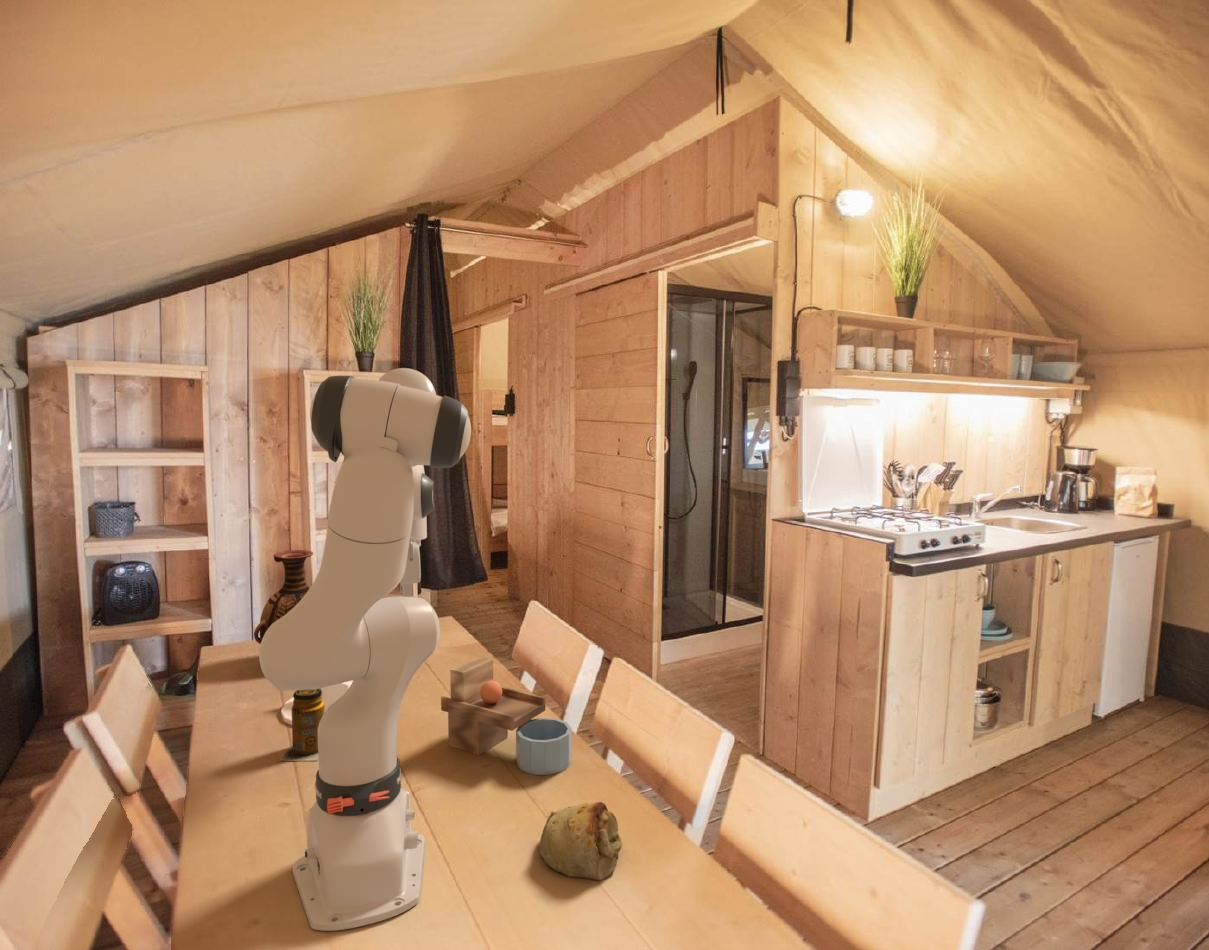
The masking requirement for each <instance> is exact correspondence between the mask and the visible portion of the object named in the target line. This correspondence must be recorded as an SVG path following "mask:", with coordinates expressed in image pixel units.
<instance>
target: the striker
mask: <svg viewBox="0 0 1209 950" xmlns="http://www.w3.org/2000/svg"><path fill="white" fill-rule="evenodd" d="M449 677H450V679H449V680H450V698H451V699H455V700H458V701H462V702H466V703H469V704H471V703H473V702H475V701H477V700H479V699H481V695H480V690H481V687H482V686H483V684H484V683H486V682H488V681H494V659H493V658H488V657H484V656H479V657H476V658H473V659H471V660H469V661H466V662H464V663H462V664H460V665H457V666H455V667H453V668H451V669H450V676H449Z"/></svg>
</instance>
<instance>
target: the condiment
mask: <svg viewBox="0 0 1209 950" xmlns="http://www.w3.org/2000/svg"><path fill="white" fill-rule="evenodd" d="M292 697H294V701H293V706H292V725H291V733H292V734H291V735H292V740H291V742H292V746H291V747H290V748H289V749H288V750H287V751H286V752H285V753H284V754H283V756H281V757H280V759H279V761H283V762H284V761H285V762H307V761H308V762H311V761H313V762H314V761H315V762H316V761H318V726H319V723H320V720H321V718H322V716H323V715H324V702H323V701H322V691H321V689H320V688H319V689H314V690H295V691H294V693H293V695H292Z"/></svg>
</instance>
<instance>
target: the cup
mask: <svg viewBox="0 0 1209 950" xmlns="http://www.w3.org/2000/svg"><path fill="white" fill-rule="evenodd" d="M572 745H573V744H572V726H570V724H569V722H567V721H564V720H561V719H559V718H555V717H554V718H553V717H552V718H551V717H539V718H532V719H531V720H529V721H527V722H526V723H524V724H523V725H521V726H519V727H518V728H516V730H515V760H516V762H517V763H516V764H517V767H518V768H519V769H520V770H521V771H522V772H524V773H525V774H529V775H532V776H533V775H534V776H549V775H550V776H551V775H555V774H558V773H561V772H564V771H565V770H567V769H568V768H569V766H570V765H571V758H572V756H573V755H572V754H573V753H572V752H573V751H572Z"/></svg>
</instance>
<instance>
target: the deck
mask: <svg viewBox="0 0 1209 950" xmlns="http://www.w3.org/2000/svg"><path fill="white" fill-rule="evenodd" d="M501 687H502V696H501V698H500V699H499V700H498V701H497V702H495V703H492V704H490V703H486V702H485V701H483V699H482V698H481V699H479V700H477V701H475V702H473V703H471V704H469V703H466V702H462V701H458V700H455V699H451V697H446V696H441V697H440V707H441V708H440V710H441V711H442V712H446V713H447V723H448V726H447V727H448V729H447V730H448V734H447V735H448V747H451V748H454V749H458V750H461V751H463V752H467V753H470V754H474V755H477V756H480V755H482V754H484V753H485V752H487V751H488V750H490V749H492V748H493V747H495V746H497V745H498V744H500V743H501V742H500V741H502V742H504V741H505V740H506V739H508V738H509V735H508V734H509V733H508V731H511V732H512V731H514V730H515V729H516V730H517V728H518V727H519V726H521V725H523V724H524V723H526V722H527V721H529V720H532V719H535V718H536V717H538V716H539V715H540V714H542V713H544V712H545V711H546V697H545V696H540V695H538V694H533V693H528V692H526V691H522V690H517V689H513V688H509V687H504V686H503V685H502V686H501ZM507 737H508V738H507ZM504 739H505V740H504ZM499 742H500V743H499ZM496 744H497V745H496Z"/></svg>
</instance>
